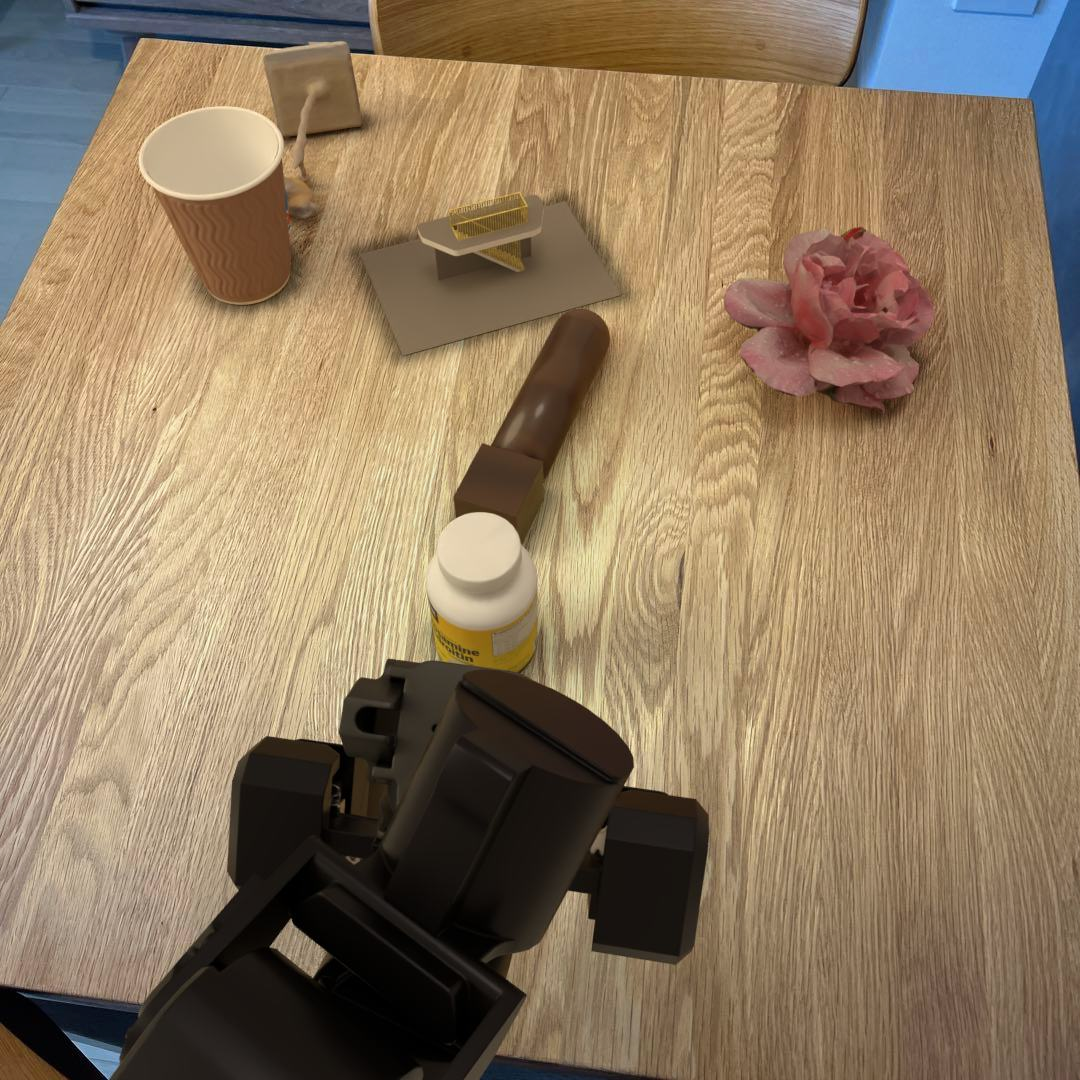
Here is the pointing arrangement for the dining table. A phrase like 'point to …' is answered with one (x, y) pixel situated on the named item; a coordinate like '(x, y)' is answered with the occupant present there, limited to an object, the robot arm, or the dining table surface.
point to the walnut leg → (536, 424)
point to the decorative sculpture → (311, 104)
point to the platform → (486, 272)
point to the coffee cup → (224, 198)
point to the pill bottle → (483, 594)
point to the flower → (835, 320)
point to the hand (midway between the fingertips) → (497, 768)
